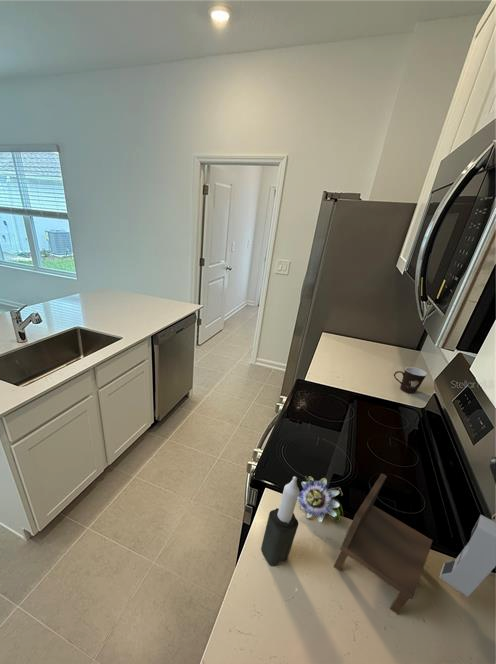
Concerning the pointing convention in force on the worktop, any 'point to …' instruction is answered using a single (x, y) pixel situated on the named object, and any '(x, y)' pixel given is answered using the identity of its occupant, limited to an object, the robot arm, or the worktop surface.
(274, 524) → the candle
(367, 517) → the shelf
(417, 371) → the coffee mug
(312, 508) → the passion flower
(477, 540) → the vintage mobile phone
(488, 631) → the worktop surface
